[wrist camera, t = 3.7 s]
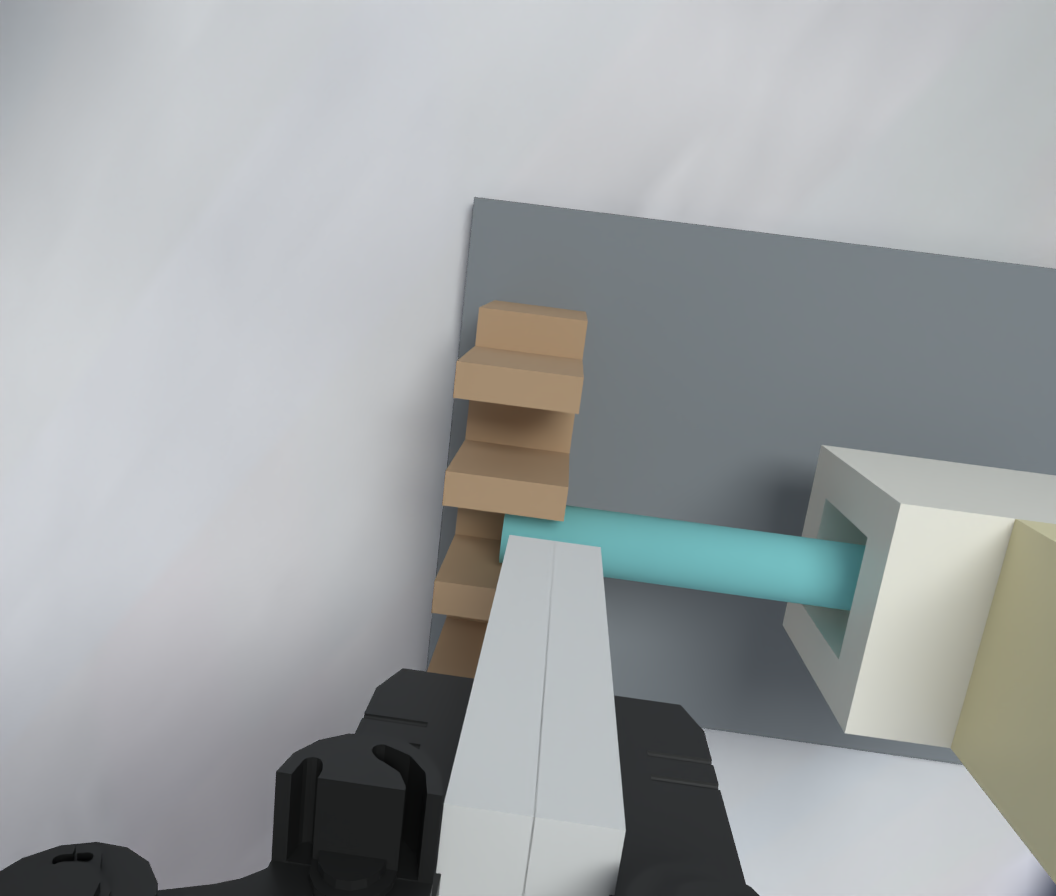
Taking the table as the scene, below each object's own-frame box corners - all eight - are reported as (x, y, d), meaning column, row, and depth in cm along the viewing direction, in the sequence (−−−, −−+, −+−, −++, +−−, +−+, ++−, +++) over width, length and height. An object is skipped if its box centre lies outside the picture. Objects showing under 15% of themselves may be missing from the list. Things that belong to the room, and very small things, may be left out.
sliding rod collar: (782, 625, 19) (974, 960, 10) (821, 444, 18) (1077, 633, 9) (1027, 658, 19) (1454, 1031, 10) (1081, 478, 18) (1617, 707, 9)
